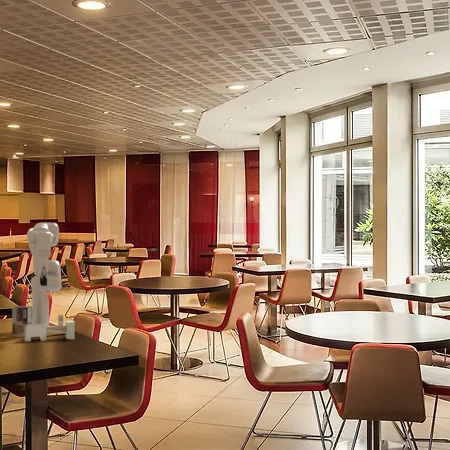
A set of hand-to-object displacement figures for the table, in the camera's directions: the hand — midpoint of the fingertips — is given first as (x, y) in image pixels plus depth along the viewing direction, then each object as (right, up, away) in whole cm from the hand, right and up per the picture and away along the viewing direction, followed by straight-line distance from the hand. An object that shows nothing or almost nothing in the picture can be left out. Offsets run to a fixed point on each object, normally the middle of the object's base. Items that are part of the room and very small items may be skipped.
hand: (43, 285), depth 366 cm
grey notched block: (-1, -28, -12) cm, 31 cm away
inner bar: (+8, -25, -9) cm, 28 cm away
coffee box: (-12, -29, +1) cm, 31 cm away
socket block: (+16, -28, -6) cm, 33 cm away
